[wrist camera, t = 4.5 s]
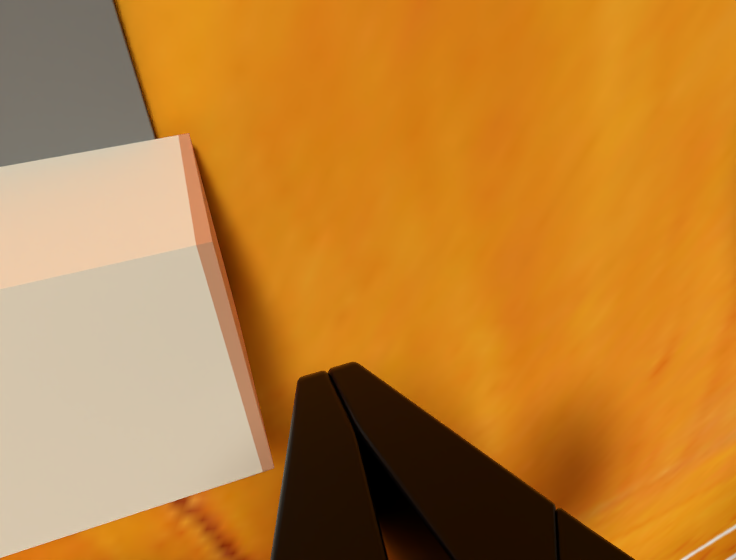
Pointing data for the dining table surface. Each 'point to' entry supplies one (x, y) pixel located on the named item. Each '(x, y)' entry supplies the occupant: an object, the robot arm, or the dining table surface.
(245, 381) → the cream block
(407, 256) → the dining table surface
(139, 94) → the slate mat
